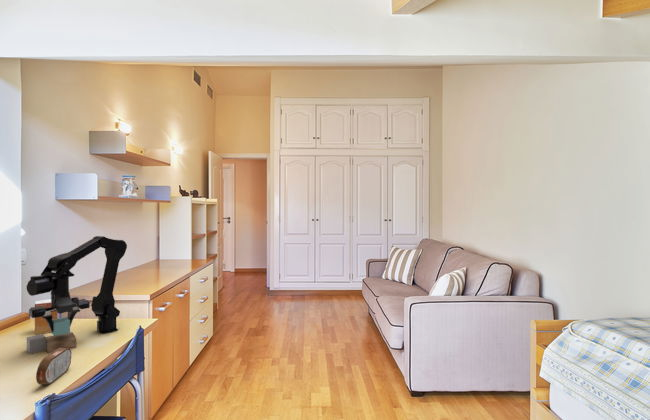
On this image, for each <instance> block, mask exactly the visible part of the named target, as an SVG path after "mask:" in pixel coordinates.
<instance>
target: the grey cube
mask: <svg viewBox="0 0 650 420" xmlns="http://www.w3.org/2000/svg"><path fill="white" fill-rule="evenodd" d="M46 337H47V336H45V334H44V333H41V334H34V335H31V336H26V351H27V353H29V354H30V355H32V354H35V353H39V352H43V351H47V350H46Z"/></svg>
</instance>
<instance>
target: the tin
mask: <svg viewBox="0 0 650 420" xmlns="http://www.w3.org/2000/svg"><path fill="white" fill-rule="evenodd" d="M71 362H72V349H68V348H59V349H57V350H55V351H54V352H52V353H48V355H46V356H44V357H43V358H42V359H41V360H40V362H39V364H38V367H37V370H36V373H35V374H36V375H35V379H36V383H37V384H38V385H41V386H42V385H51V384H53V383H54V382H55V381H56V380H58V379H60V378H61V377H62V376H63V375H64V374H65V373H67V371H68V370H69V368H70V366H71V364H72V363H71Z"/></svg>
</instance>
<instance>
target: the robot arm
mask: <svg viewBox="0 0 650 420" xmlns="http://www.w3.org/2000/svg"><path fill="white" fill-rule="evenodd" d="M100 248H102V249H104V254H105V258H106V261H105V265H104V270H103V271H104V272H103V275H102V280H101V285H100V290H99V293H98V294H97V295H96V296H93V297H92V302H91V304H90V301H89V300H86V299H85V298H79V297H78V296H77V297H76V296H75V297H71V293H70V282H69V281H70V277H75V274H74V273H73V272H71V270H72V269H73V268H74V267H75V266H76V264H77V262H79V261H80V260H81V259H83V258H85V257H87V256H89V255H90V254H92V253H93V252H95V251H96V250H98V249H100ZM127 248H128V245H127V243H126V241H125V240H123V239H114V238H108V237H106V236H103V235H100V236H99V235H96V236H93V237H92V238H91V239H89V240H88V241H86V242H84V243H83V244H80V245H79V246H77V247H76V248H74V249H72V250H70V251H68V252H65V253H61V254H58V255H55V256H52V257H51V258H49V259H48V261H47V265H46V266H45V267H44V269H43V271H42V272H41V273H40V275H32V276H29V277H30V279H29V280H28V282H27V284H26V291H27V293H28V295H29V296H32V297H33V296H37V295H43V294H47V293H50V299H51V307H47V308H44V307H43V306H37V307H35V306H32V307H30V308H29V310H28V316H29V317H31V318H32V319H35V318H37V317H42V318H45V319H46V321H47V323H48V325H49V327H50V329H51V332H53V321H52V315H51V312H53V311H57V312H58V315H59V314H64V313H67V318H68V319H69V320H70V327H71V326H72V324H73V320H74V318H75V316H76V315H77V313H80V311H81V310H84V309H85V310H86V309H89V308H90V307H91V311H92V312H93V313H94V315H95V316H94V317H97V319H98V320H97V321H96V331H97V332H98V333H99V334H102V335H104V334H109V333H111V332H116V331H119V328H118V327H117V318H118V317H120V314H121V311H120V310H119V309H118V308H117V307H116V306H115V305H116V302H115V297H114V294H113V293H114V288H115V284H116V279H117V274H118V268H119V266H120V265H119V264H120V260H121V259H122V258H123V257H124V256H125V254H126V251H127ZM55 308H56V309H55ZM51 332H50V333H51Z"/></svg>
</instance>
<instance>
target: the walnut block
mask: <svg viewBox="0 0 650 420" xmlns="http://www.w3.org/2000/svg"><path fill="white" fill-rule="evenodd" d="M45 337H46V350H45V351H46V352H47V353H46V354H51V353H52V352H54V351H55V350H57V349H59V348H68V349H70V350H73V349H77V337H76V335H75V334H74V332H72V331H70V333H67V334H62V335H57V336H54V335H53V334H52V335H49V336H45Z"/></svg>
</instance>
